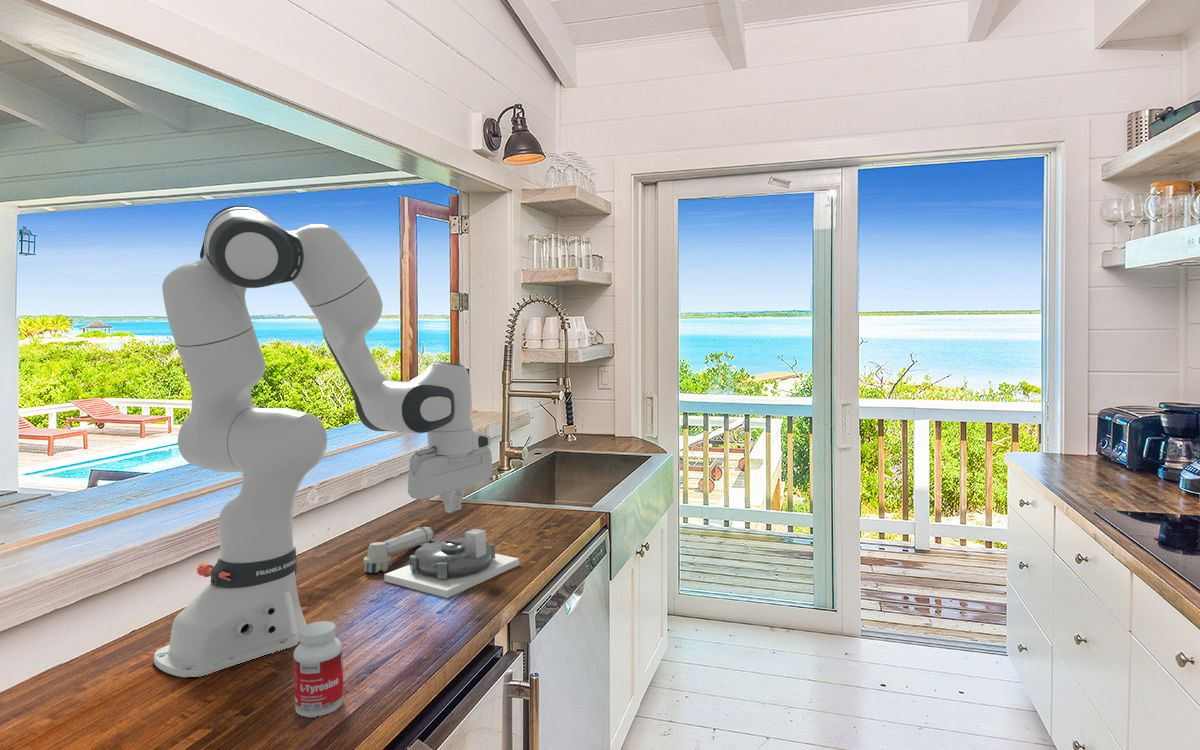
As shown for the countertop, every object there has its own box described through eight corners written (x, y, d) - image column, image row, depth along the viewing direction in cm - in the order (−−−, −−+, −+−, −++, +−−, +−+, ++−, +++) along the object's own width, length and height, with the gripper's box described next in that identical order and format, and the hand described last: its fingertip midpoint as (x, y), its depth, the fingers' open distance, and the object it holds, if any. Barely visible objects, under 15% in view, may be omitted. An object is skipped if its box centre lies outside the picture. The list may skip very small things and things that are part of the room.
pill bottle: (295, 723, 88) (291, 641, 87) (295, 701, 94) (292, 623, 93) (345, 712, 90) (342, 632, 90) (342, 691, 96) (340, 615, 95)
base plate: (447, 598, 130) (446, 589, 130) (384, 581, 140) (384, 573, 140) (519, 565, 149) (518, 557, 149) (459, 552, 158) (459, 545, 158)
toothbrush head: (437, 526, 168) (380, 541, 144) (436, 553, 167) (379, 573, 143) (418, 525, 169) (359, 540, 145) (417, 551, 168) (357, 571, 144)
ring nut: (394, 568, 142) (393, 530, 141) (451, 546, 156) (450, 513, 155) (453, 582, 133) (452, 542, 132) (507, 558, 147) (506, 522, 146)
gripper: (422, 453, 123) (425, 527, 124) (496, 436, 140) (498, 501, 141) (398, 450, 126) (401, 522, 127) (473, 434, 144) (476, 497, 145)
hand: (453, 511), depth 135 cm, fingers closed
